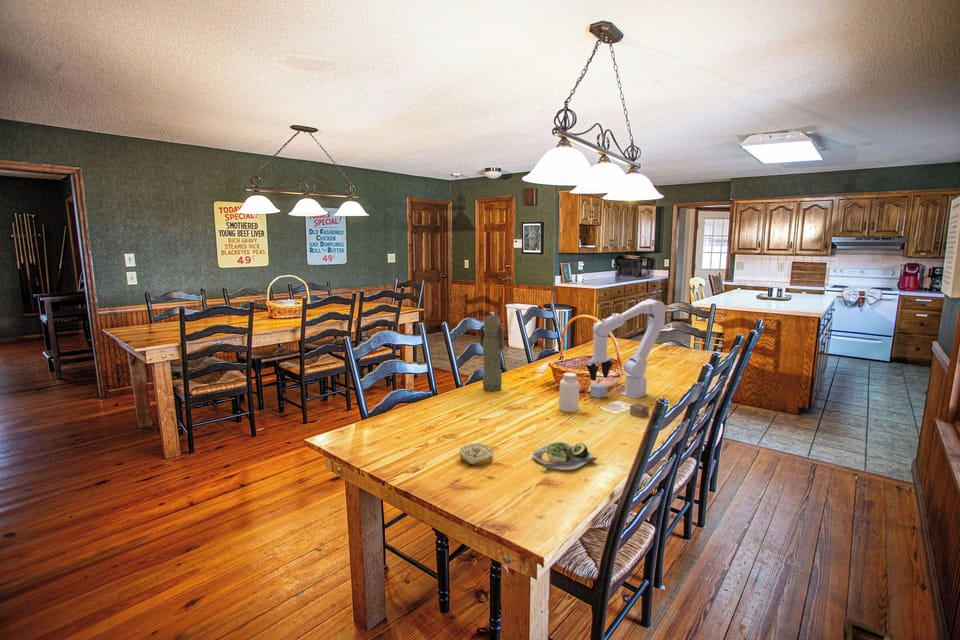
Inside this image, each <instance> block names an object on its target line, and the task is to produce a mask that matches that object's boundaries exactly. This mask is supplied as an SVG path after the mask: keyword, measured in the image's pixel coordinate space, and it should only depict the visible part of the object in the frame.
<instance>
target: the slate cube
mask: <svg viewBox="0 0 960 640" xmlns="http://www.w3.org/2000/svg"><path fill="white" fill-rule="evenodd" d="M607 391H608V386H607V385H604V384H601V383H596V385H595V384H590V395H592V396H591V397H593V396H594V397H593V398H596V397H597V398H596V399H601V398H602V397H603V398H606V397H607V395H608V392H607ZM590 395H589V396H590Z"/></svg>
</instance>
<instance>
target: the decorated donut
mask: <svg viewBox="0 0 960 640" xmlns="http://www.w3.org/2000/svg"><path fill="white" fill-rule="evenodd" d="M459 456H460V459H461V460H462V461H463V462H464V463H465V462H466V463H465V464H468V463H469V464H468V465H472V464H473V465H472V466H475V465H477V466H485V464H486V465H488V464H489V463H491V461H493V457H494V452H493V449H492V448H491V447H490V446H489V445H486V444H483V443H469V444H465V445H463V446H462V447H460V449H459Z"/></svg>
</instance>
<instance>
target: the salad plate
mask: <svg viewBox="0 0 960 640" xmlns="http://www.w3.org/2000/svg"><path fill="white" fill-rule="evenodd" d="M546 452H547V453H548V458H549V460H544V459H542V455H543V454H544V453H546ZM547 453H546V454H547ZM544 455H545V454H544ZM544 455H543V456H544ZM532 457H533V459H534V460H535V461H536V462H539V463H538V464H540V465H542V468H543V469H550V470H551V469H552V470H555V469H556V470H557V471H558V470H559V471H575V470H577V469H579V468H581V467H584V466H585V465H587V464H590V463H591V462H594V461H597V460H598V457H593V454H592V453H591V452H590V451H588V447H587V445H586V444H585V443H583V442H578V443H576V444H575V445H572V444H570V443H568V442H563V441H560V442H559V441H553V442H550V443H548V444H546V445H544V446H542V447H540V448H537V449H535V451H532Z"/></svg>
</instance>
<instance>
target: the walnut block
mask: <svg viewBox="0 0 960 640" xmlns="http://www.w3.org/2000/svg"><path fill="white" fill-rule="evenodd" d="M649 410H650V406H649V405H646V404H643V403H640V402H638V403H637V402H636V403H634V404H630V409H629V415H631V416H634V417H637V418H639V419H641V417H642V418H644V416H645V417H647V416H649V413H650V411H649Z"/></svg>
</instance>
